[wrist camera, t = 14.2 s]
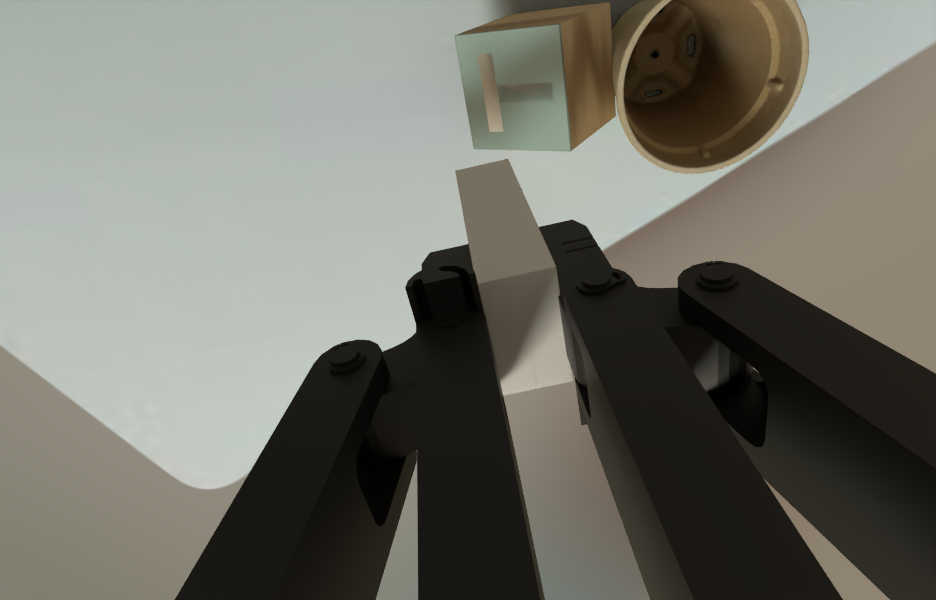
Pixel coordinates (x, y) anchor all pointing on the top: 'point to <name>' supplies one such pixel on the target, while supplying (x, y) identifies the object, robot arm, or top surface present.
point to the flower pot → (707, 78)
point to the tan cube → (538, 78)
